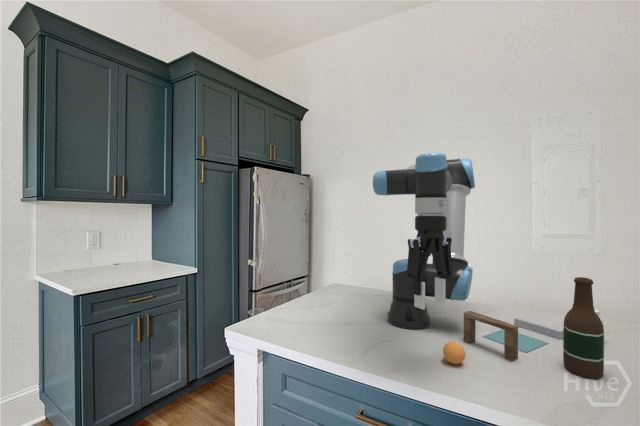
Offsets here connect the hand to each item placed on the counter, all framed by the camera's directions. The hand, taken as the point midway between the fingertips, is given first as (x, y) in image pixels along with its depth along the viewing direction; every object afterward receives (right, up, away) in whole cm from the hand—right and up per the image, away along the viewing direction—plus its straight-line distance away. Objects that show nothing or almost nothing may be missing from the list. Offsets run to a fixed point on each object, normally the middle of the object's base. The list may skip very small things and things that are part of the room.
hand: (430, 305), depth 76 cm
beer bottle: (+39, -17, 0) cm, 43 cm away
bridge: (+22, -17, +13) cm, 31 cm away
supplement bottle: (+59, -17, +19) cm, 64 cm away
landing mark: (+34, -17, +19) cm, 43 cm away
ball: (+8, -14, +5) cm, 17 cm away
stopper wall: (+47, -17, +26) cm, 56 cm away
